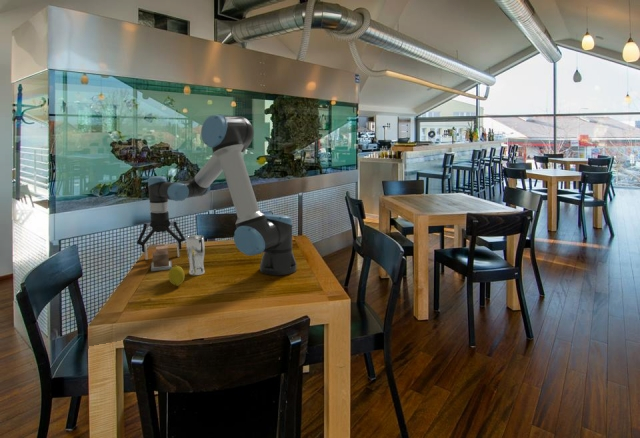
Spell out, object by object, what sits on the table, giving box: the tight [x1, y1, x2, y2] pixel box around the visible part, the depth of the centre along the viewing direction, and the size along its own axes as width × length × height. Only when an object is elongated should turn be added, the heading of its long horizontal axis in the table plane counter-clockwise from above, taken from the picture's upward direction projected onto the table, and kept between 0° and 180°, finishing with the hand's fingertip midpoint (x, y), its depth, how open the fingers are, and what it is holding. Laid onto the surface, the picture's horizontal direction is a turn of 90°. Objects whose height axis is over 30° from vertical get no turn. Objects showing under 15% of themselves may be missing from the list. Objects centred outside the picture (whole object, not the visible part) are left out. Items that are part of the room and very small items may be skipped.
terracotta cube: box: [155, 245, 170, 259], centre depth 191 cm, size 5×5×5 cm
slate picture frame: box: [150, 260, 173, 272], centre depth 179 cm, size 9×8×1 cm
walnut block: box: [152, 250, 170, 267], centre depth 178 cm, size 6×6×5 cm
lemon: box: [168, 265, 186, 287], centre depth 156 cm, size 6×6×8 cm
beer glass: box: [186, 234, 206, 276], centre depth 170 cm, size 7×7×15 cm
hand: (162, 257), depth 192 cm, fingers open, 13 cm apart
